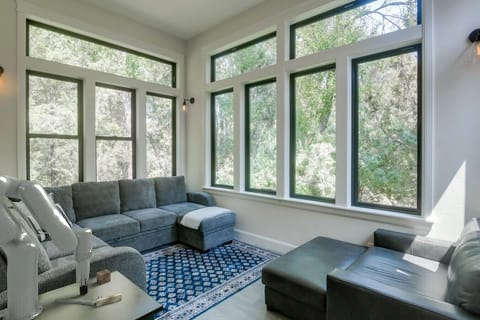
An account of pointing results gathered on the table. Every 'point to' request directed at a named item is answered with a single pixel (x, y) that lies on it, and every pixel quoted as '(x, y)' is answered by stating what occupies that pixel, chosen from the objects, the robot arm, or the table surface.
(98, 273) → the walnut block
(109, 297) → the rail
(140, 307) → the table surface
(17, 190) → the robot arm
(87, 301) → the caliper
